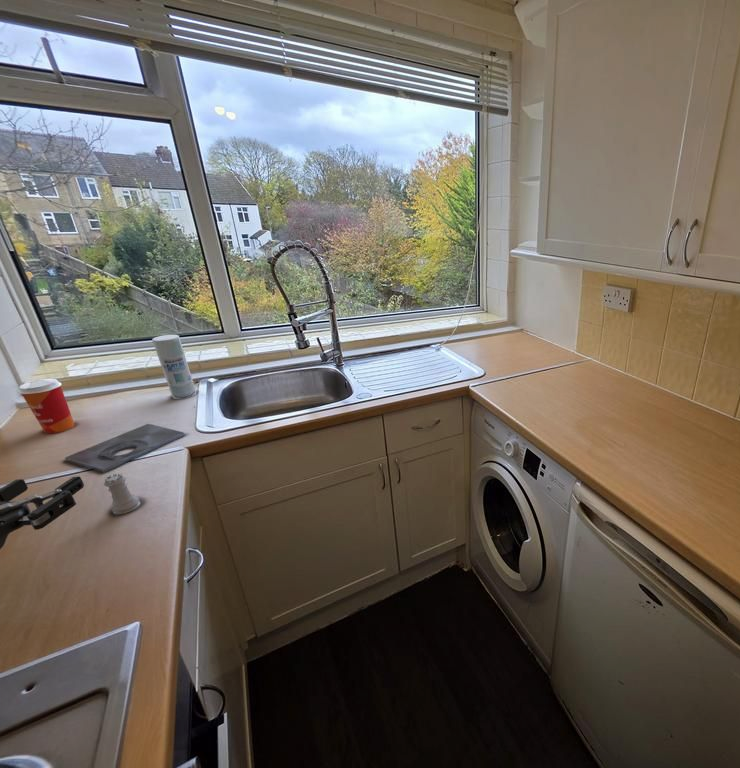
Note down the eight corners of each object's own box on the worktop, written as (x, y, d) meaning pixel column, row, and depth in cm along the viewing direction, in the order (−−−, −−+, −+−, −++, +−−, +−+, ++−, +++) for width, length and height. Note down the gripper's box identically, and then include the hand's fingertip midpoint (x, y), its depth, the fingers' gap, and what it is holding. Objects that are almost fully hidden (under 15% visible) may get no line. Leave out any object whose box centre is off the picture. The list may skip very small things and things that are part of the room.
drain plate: (105, 474, 93) (102, 469, 93) (67, 462, 97) (64, 457, 97) (185, 437, 109) (183, 432, 108) (149, 428, 113) (147, 423, 112)
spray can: (195, 390, 136) (177, 333, 128) (199, 396, 132) (180, 337, 124) (171, 396, 132) (150, 337, 124) (174, 402, 128) (153, 341, 120)
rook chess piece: (107, 513, 81) (92, 480, 78) (133, 500, 85) (120, 468, 82) (121, 519, 80) (106, 486, 77) (147, 505, 84) (133, 473, 81)
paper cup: (37, 431, 110) (13, 384, 105) (76, 420, 116) (56, 375, 111) (43, 440, 106) (19, 391, 101) (84, 428, 112) (62, 382, 106)
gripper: (-17, 531, 52) (89, 460, 67) (-145, 539, 51) (-7, 465, 66) (10, 574, 55) (107, 497, 70) (-110, 583, 54) (14, 502, 68)
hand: (51, 482), depth 68 cm, fingers open, 8 cm apart
